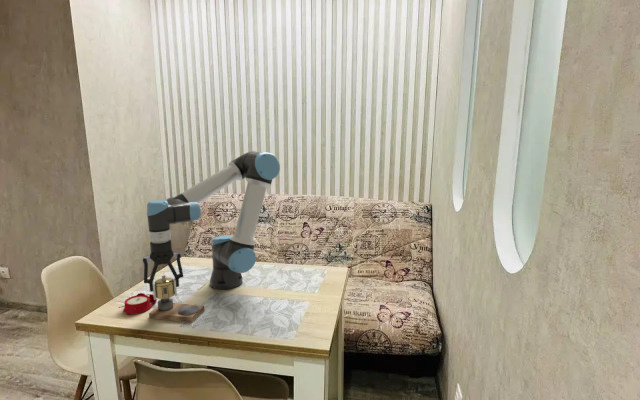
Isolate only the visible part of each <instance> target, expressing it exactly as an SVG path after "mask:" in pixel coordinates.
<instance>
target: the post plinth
mask: <svg viewBox="0 0 640 400" xmlns="http://www.w3.org/2000/svg"><path fill="white" fill-rule="evenodd" d="M205 309H206V308H205V305H201V304H192V303H191V304H190V303H182V302H174V300H173V298H172V297H170V298H166V299H159V300H158V301H157V306H156V307H155V308H153V309H152V311H149V312H148V319H153V320H155V319H156V320H165V321H175V322H176V321H177V322H185V323H193V322H194V321H195V320H196V319H197V318H198V317H199V316H200V315H201V314H202V313H203V312H204V311H205Z"/></svg>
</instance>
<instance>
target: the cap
mask: <svg viewBox="0 0 640 400" xmlns="http://www.w3.org/2000/svg"><path fill="white" fill-rule="evenodd" d="M173 278H174V277H166V275H161V278H158V279H156V280H155V292H156V299H157V300H158V299H159V300H161V299H166V298H173V296H175V292H174V281H173Z"/></svg>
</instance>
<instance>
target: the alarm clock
mask: <svg viewBox="0 0 640 400" xmlns="http://www.w3.org/2000/svg"><path fill="white" fill-rule="evenodd" d="M157 300H158V298H156V300H154V293H150V294H145V293H143V292H140V293H137V294H136V295H134V296H131V297H127V298H126V299H125V301H124V305H122V306H119V307H118V309H120V308H123V313H124V314H126V315H127V316H129V315H136V314H137V315H138V314H141V313H145V312H147V311H149V310H151V309H152V307H153V304H154V305H155V304H156V303H157V302H158V301H157ZM152 303H153V304H152Z"/></svg>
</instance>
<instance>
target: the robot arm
mask: <svg viewBox="0 0 640 400" xmlns="http://www.w3.org/2000/svg"><path fill="white" fill-rule="evenodd" d="M280 169H281V164H280V161H279V159H278V158H277V156H276V155H275V154H273V153H270V152H268V151H267V152H266V151H255V150H253V151H252V150H251V151H248V152H245V153H243V154H241V155H240V156H238V157H236V158H235V159H233V160H231V161H230V162H229V163H228V165H227V166H225V167H224V168H222V169H220V170H219V171H217V172H216V173H213V174H212V175H210V176H208V177H207V178H205V179H204V180H201V181H200V182H198V183H196V184H195V185H193V186H192V187H190V188H188V189H186V190H185V191H183V192H181V193H179V194H178V195H176V196H174V197H173V196H172V197H168V198H165V200H164V199H160V200H159V199H157V200H155V199H154V200H151V201H148V202H147V204H146V215H147V216H146V217H147V224H148V225H147V226H148V236H149V247H150V254H149V255H148V256H143V257H142V262H143V265H144V266H143V283H144V284H149V285H148V286H149V291H150V292H153V293H152V294H153V295H154V300H156V299H157V298H156V292H155V281H156V280H155V276H156V273H157V269H158V268H159V266H160V265H167V266H168V268H169V269H170V271H171V273H172V275H173V277H172V278H173V281H174V292H175V294H174V296H175V297H177V296H178V292H177V291H178V290H177V288H179V287H180V280H179V279H180V278H184V273H183V267H182V264H181V263H182V262H181V252H179V251H178V252H174V250H173V248H172V247H173V246H172V240H171V239H172V234H171V225H174V224H180V223H187V222H193V221H194V222H195V221H197V220H199V219H201V216H202V210H201V209H202V208H201V206H200V203H201V202H203V201H205V200H206V199H208V198H210V197H212V196H213V195H215V194H216V193H218V192H220V191H222V190H223V189H224V188H226V187H228V186H230V185H231V184H233V183H234V182H236V181H242V180H244V179H245V180H246V182H247V185H246V188H245V192H244V196H243V200H242V204H241V206H240V210H239V215H238V219H237V222H236V227H235V229H234V230H235V231H234V233H233V234H228V235H227V234H226V235H220V236H219V235H218V236H216V237H213V238H212V239H211V253H212V271H211V275H210V279H209V286H210V287H211V288H213V289H215V290H227V289H233V288H237V287H240V285H242V284H243V281H244V280H243V276H242V274H245V273H247V272H249V271H251V269H252V268H253V267H254V266H255V264H256V260H257V255H256V252H255V246H256V243H255V241H254V237H255V234H256V230H257V225H258V222H259V218H260V213H261V210H262V206H263V203H264V201H265V195H266V193H267V192H266V191H267V188H268V187H270V186H271V185H272V182H273V180H274V179H275V178H277V176H278V175H279V173H280ZM173 256H174V258H175V259H176V260H175V261H176V263H177V268H178V269H177V270H178V272H179V273H177V270H176V269H175V266H174V265H173V263H172V262H171V260H172V258H173ZM150 260H151V261H152V262H153V267H152V270H151V274H150V277H149V276H148V273H149V271H148V270H149V269H148V268H149V262H150ZM148 277H149V278H148ZM154 280H155V281H154Z"/></svg>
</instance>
